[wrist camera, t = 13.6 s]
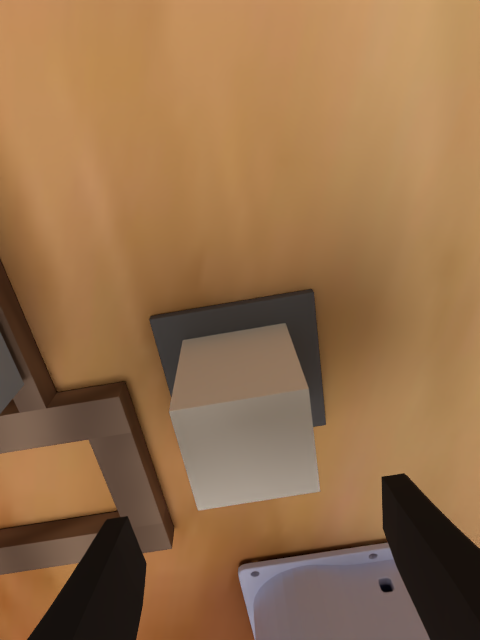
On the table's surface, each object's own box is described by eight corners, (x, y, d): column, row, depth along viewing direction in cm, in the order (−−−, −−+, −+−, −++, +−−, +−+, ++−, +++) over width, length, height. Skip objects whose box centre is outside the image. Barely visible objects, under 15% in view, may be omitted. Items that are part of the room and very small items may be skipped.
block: (285, 323, 17) (308, 388, 13) (296, 407, 19) (320, 491, 14) (182, 340, 17) (169, 411, 13) (203, 422, 19) (198, 510, 14)
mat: (312, 289, 17) (313, 292, 17) (324, 419, 20) (325, 424, 19) (150, 316, 17) (149, 319, 17) (185, 441, 20) (185, 447, 20)
